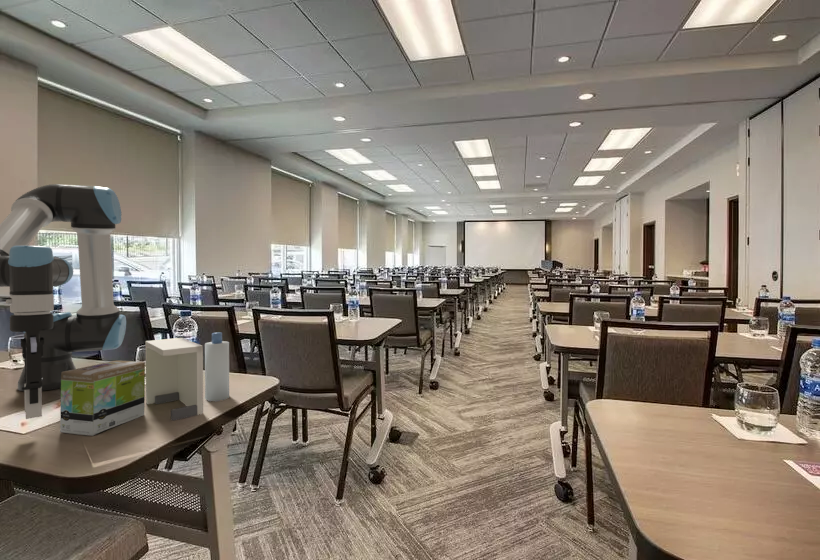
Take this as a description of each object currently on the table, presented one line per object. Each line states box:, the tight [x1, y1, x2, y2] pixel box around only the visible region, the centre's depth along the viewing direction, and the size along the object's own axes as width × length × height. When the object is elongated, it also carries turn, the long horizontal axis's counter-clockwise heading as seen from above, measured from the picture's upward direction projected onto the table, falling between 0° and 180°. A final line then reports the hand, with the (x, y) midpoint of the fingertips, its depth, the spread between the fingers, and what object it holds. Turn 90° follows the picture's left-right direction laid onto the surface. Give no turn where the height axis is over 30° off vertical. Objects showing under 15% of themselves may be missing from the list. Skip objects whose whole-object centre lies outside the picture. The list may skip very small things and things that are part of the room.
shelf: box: [145, 337, 204, 416], centre depth 119 cm, size 19×10×18 cm, turn 43°
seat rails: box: [154, 392, 198, 421], centre depth 119 cm, size 18×6×2 cm, turn 43°
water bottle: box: [204, 331, 230, 402], centre depth 128 cm, size 7×7×20 cm
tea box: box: [59, 360, 146, 437], centre depth 107 cm, size 15×10×15 cm
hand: (33, 413), depth 98 cm, fingers open, 6 cm apart
